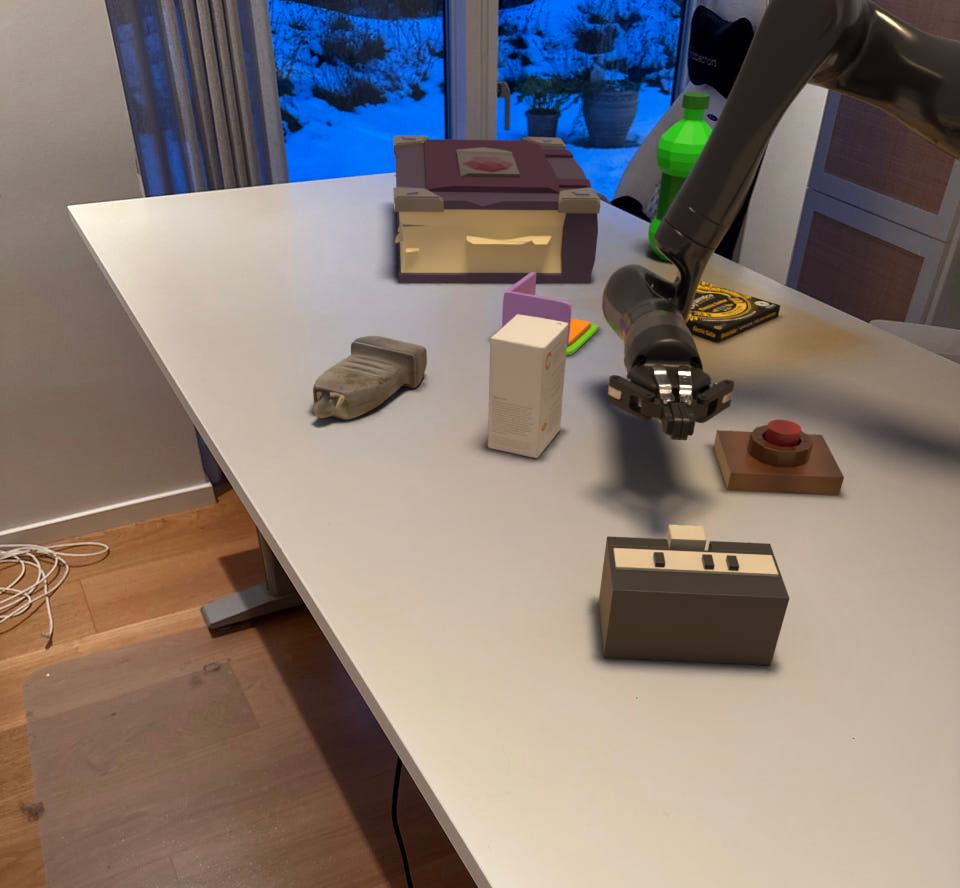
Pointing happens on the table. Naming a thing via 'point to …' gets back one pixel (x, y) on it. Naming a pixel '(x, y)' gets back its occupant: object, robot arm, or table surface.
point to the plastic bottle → (679, 154)
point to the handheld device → (368, 376)
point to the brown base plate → (776, 464)
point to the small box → (526, 384)
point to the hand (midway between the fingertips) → (681, 430)
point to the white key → (686, 537)
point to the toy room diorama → (544, 311)
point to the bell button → (782, 433)
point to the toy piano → (691, 601)
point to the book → (492, 211)
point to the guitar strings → (726, 312)
